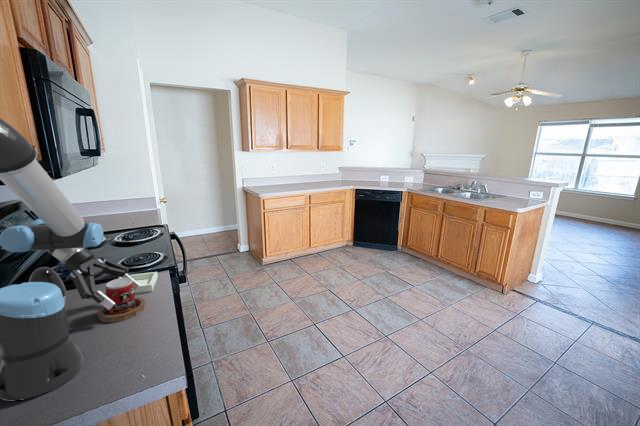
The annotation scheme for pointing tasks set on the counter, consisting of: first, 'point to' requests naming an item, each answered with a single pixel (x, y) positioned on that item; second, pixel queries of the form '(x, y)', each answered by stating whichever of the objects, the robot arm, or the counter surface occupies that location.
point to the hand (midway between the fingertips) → (125, 296)
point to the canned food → (121, 295)
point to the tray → (145, 282)
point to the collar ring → (122, 316)
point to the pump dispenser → (48, 278)
